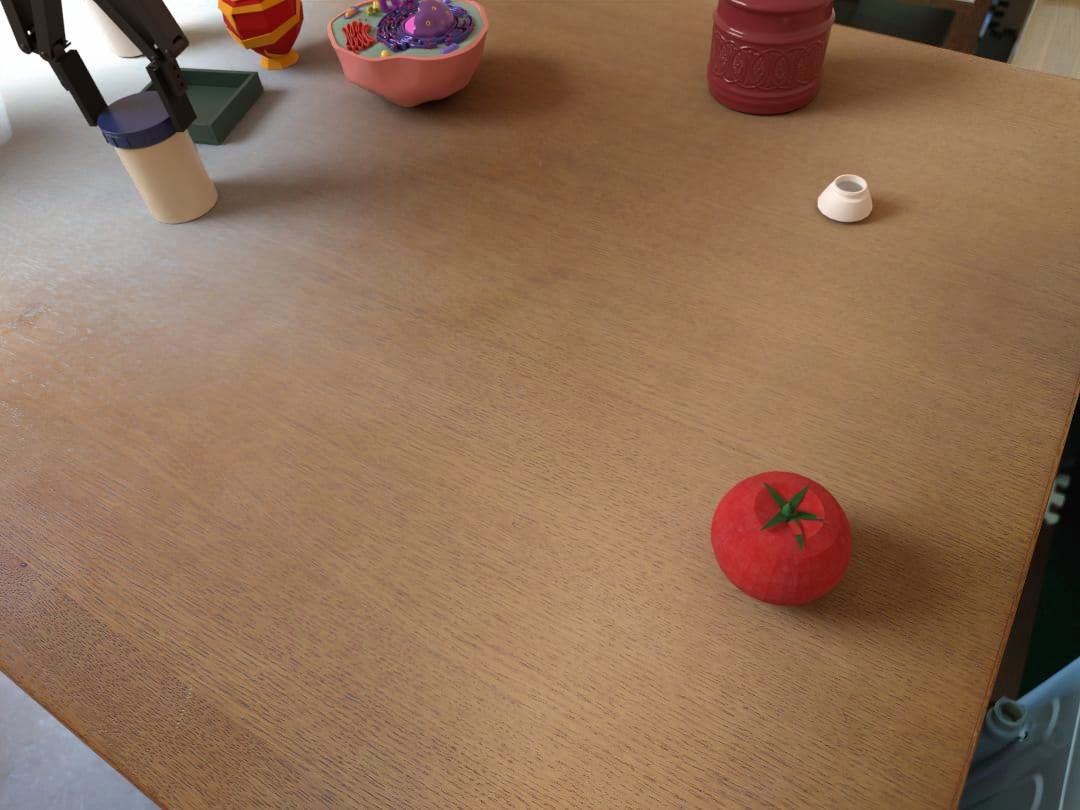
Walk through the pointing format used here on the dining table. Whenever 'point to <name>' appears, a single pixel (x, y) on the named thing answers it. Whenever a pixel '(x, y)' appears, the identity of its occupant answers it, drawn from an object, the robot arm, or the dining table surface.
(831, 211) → the lidless jar
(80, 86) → the robot arm
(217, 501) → the dining table surface
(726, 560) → the tomato
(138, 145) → the jam lid
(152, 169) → the jam jar
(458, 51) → the cell model
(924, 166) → the dining table surface
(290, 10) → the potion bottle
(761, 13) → the kitchen canister
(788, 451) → the dining table surface
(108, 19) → the milk bottle
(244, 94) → the lid tray
